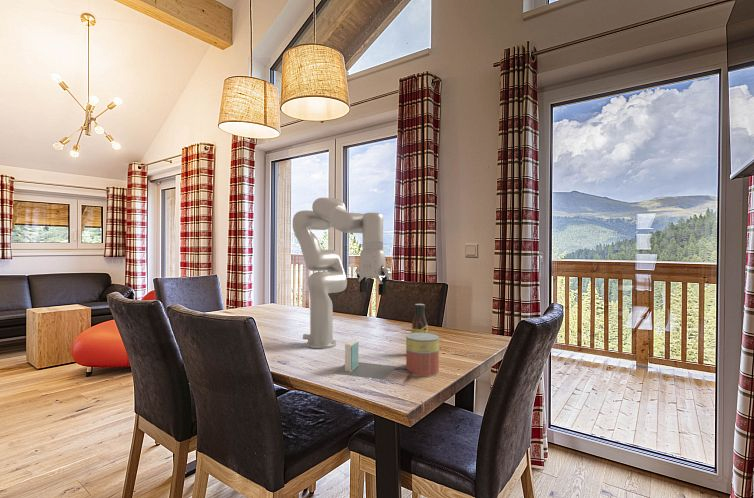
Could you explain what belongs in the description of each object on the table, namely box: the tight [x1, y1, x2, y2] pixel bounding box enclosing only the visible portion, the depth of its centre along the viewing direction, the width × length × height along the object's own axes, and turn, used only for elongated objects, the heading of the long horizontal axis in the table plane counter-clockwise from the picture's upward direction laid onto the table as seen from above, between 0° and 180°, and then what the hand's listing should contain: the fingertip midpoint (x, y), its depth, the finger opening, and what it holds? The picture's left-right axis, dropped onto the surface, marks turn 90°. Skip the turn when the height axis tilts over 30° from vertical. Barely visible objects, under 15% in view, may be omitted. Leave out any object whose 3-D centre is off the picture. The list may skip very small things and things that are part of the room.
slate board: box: [332, 361, 397, 381], centre depth 130 cm, size 18×14×1 cm
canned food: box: [405, 332, 440, 378], centre depth 132 cm, size 11×11×12 cm
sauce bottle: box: [411, 303, 429, 333], centre depth 151 cm, size 7×6×20 cm
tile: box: [344, 338, 359, 372], centre depth 131 cm, size 2×7×9 cm, turn 162°
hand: (372, 293), depth 140 cm, fingers open, 9 cm apart
